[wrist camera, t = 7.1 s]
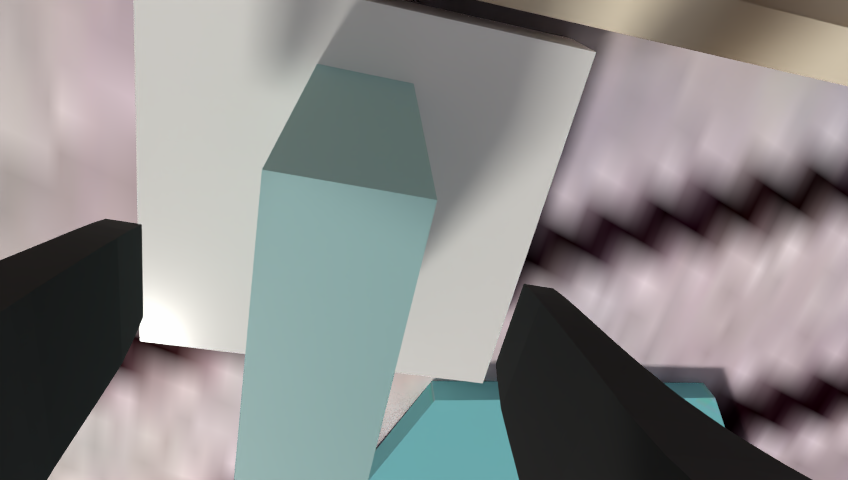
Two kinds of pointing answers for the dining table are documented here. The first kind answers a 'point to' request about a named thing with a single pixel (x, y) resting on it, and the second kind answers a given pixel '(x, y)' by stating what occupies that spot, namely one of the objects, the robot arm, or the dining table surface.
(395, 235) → the panel
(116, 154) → the dining table surface
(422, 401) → the plaque
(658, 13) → the wooden tray
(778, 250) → the dining table surface
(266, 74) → the tile
